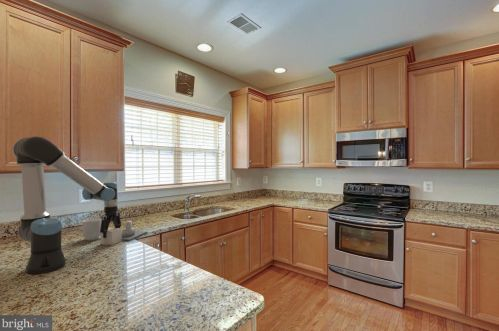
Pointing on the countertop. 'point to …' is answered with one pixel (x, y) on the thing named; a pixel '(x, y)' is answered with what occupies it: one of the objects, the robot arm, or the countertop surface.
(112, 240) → the cream cube block
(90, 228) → the mug
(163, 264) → the countertop surface
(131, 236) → the post base
